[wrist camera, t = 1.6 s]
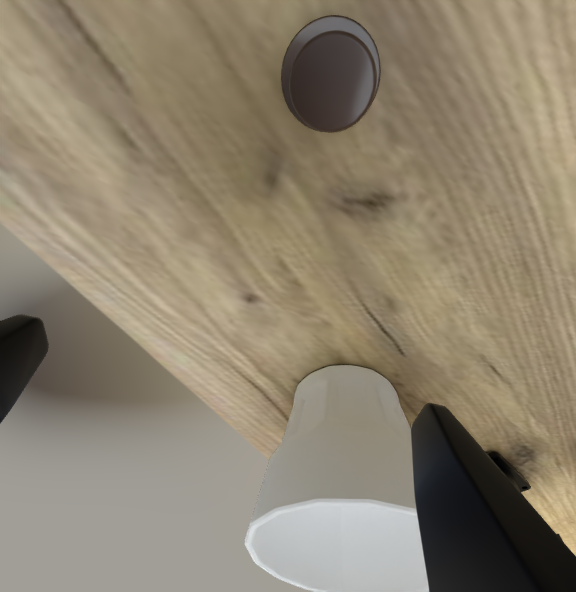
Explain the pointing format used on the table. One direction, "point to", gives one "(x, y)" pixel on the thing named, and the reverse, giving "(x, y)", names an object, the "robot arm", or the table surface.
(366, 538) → the cup
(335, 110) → the brown peg stand
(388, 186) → the table surface
